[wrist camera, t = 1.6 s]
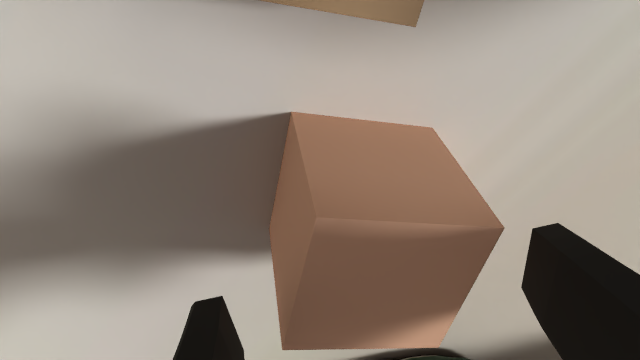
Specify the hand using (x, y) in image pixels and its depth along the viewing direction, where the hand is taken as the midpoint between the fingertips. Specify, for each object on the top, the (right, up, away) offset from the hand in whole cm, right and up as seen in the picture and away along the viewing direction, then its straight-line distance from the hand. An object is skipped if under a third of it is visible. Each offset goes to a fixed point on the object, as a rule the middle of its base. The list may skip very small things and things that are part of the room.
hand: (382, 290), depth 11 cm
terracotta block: (-1, +3, +4) cm, 4 cm away
